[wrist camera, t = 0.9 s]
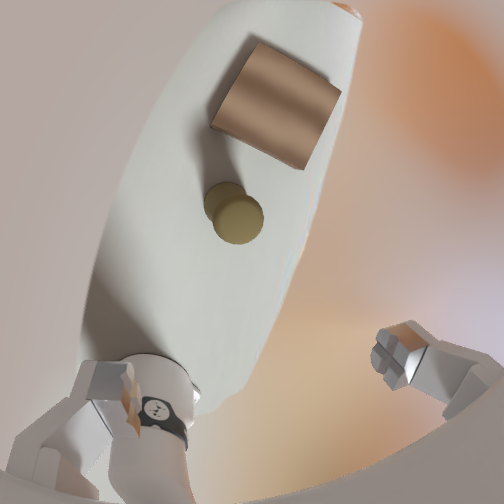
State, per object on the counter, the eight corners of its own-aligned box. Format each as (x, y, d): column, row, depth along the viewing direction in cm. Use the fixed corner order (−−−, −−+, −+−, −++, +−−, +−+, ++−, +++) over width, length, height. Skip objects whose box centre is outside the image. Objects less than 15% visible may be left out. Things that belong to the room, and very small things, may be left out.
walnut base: (295, 169, 37) (303, 170, 34) (209, 126, 32) (211, 123, 30) (331, 95, 34) (341, 91, 31) (253, 50, 30) (258, 42, 27)
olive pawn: (201, 184, 35) (206, 194, 24) (247, 180, 36) (270, 188, 26) (206, 229, 37) (212, 256, 27) (249, 223, 38) (272, 248, 28)
